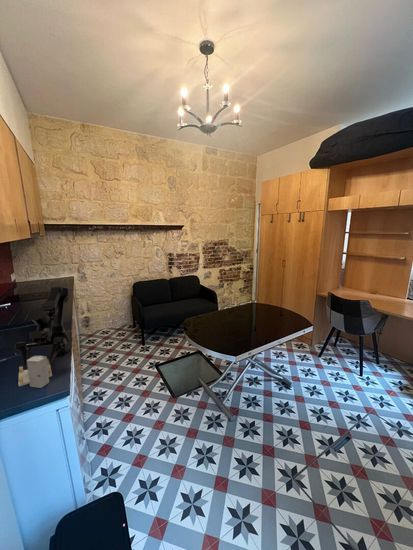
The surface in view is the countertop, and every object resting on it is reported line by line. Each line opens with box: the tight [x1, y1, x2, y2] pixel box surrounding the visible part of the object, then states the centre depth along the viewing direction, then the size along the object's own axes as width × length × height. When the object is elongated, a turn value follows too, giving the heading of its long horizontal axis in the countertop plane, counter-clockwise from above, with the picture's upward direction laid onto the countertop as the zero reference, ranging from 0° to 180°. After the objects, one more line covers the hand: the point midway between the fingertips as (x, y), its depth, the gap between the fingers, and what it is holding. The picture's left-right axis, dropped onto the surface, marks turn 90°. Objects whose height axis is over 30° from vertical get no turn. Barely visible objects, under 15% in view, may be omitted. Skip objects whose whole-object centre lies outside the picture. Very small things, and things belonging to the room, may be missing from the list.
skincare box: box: [26, 355, 50, 389], centre depth 99 cm, size 6×4×12 cm
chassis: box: [17, 358, 53, 387], centre depth 107 cm, size 12×12×4 cm
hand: (38, 363), depth 100 cm, fingers open, 9 cm apart
